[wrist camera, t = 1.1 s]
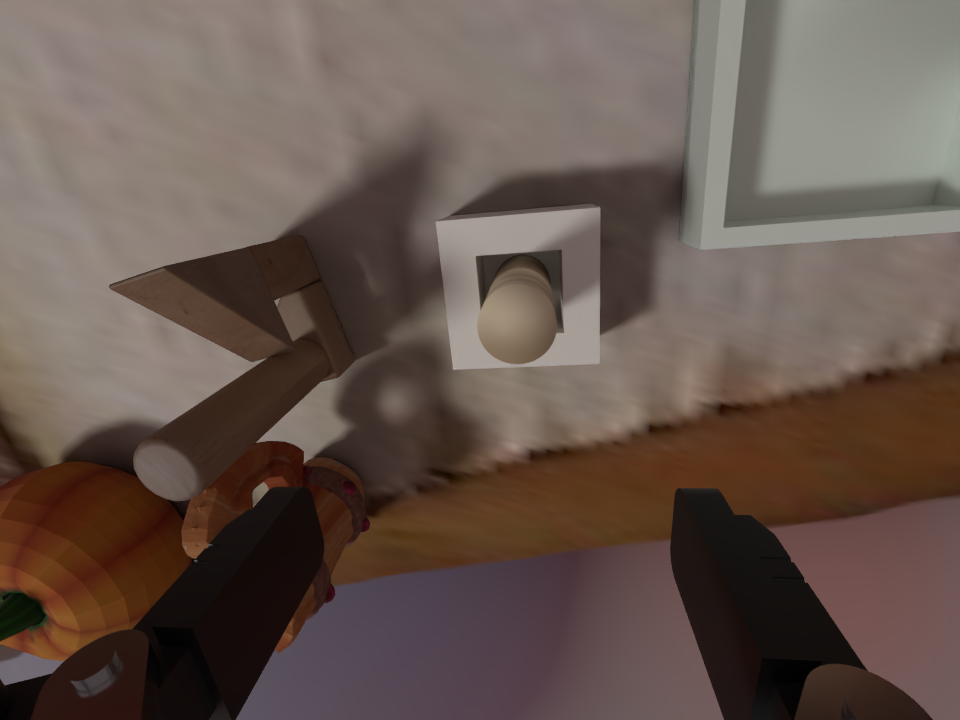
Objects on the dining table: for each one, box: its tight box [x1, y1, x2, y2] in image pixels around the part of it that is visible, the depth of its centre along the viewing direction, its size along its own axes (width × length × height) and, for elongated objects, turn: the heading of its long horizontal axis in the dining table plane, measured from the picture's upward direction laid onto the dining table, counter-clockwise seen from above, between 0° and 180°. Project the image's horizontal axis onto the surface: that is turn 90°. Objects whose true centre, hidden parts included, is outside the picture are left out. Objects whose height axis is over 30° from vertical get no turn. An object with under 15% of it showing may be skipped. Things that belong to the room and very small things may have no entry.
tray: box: [679, 0, 960, 250], centre depth 26 cm, size 16×16×4 cm
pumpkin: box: [0, 461, 192, 661], centre depth 41 cm, size 19×19×15 cm
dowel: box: [477, 255, 557, 364], centre depth 28 cm, size 4×4×11 cm
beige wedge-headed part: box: [109, 235, 355, 501], centre depth 28 cm, size 4×11×18 cm, turn 16°
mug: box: [181, 441, 370, 653], centre depth 35 cm, size 15×8×15 cm, turn 11°
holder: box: [436, 204, 600, 370], centre depth 32 cm, size 10×10×5 cm
